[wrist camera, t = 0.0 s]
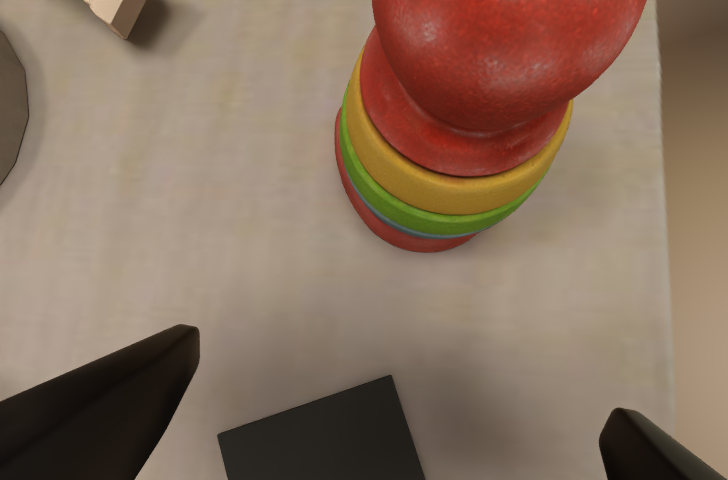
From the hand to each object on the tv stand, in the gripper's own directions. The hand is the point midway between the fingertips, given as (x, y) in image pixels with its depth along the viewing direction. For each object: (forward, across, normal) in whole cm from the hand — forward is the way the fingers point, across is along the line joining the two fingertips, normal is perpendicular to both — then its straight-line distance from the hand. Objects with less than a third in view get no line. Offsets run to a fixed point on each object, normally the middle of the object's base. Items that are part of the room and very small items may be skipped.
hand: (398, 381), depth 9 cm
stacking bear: (+18, -1, 0) cm, 18 cm away
